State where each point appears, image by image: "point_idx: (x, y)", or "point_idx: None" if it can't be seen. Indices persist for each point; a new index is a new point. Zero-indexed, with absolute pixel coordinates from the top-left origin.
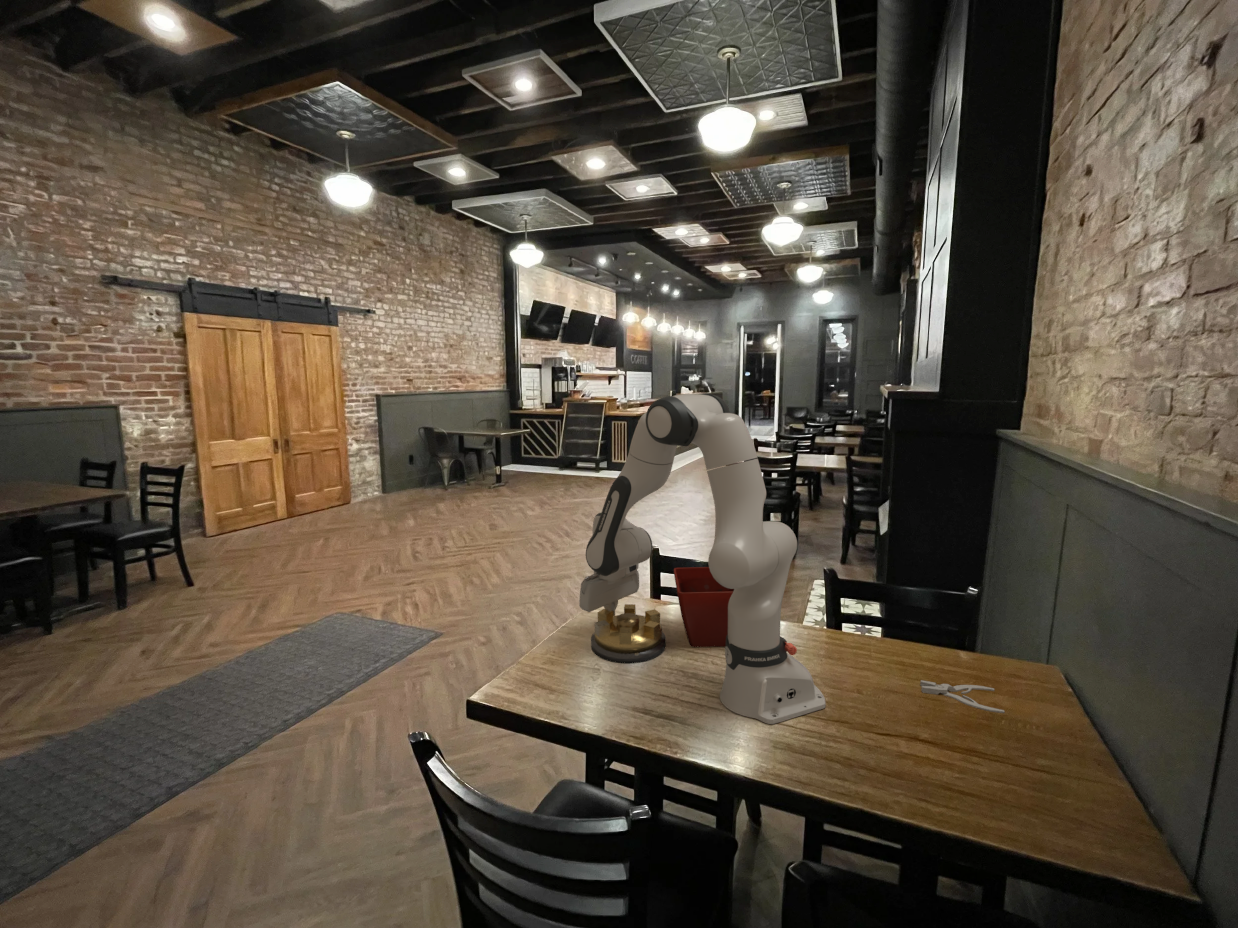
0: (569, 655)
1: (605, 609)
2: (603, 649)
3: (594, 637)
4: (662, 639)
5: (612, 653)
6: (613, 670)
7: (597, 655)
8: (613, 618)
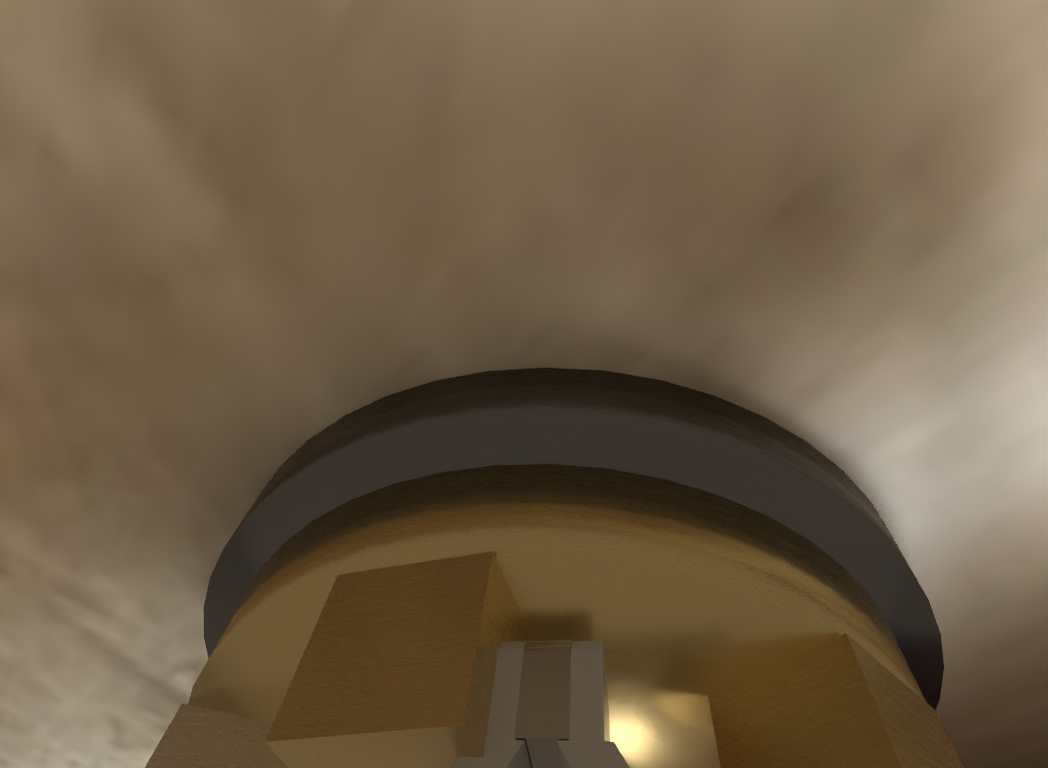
0: (22, 481)
1: (452, 764)
2: None
3: (279, 537)
4: None
5: None
6: None
7: None
8: (608, 614)
